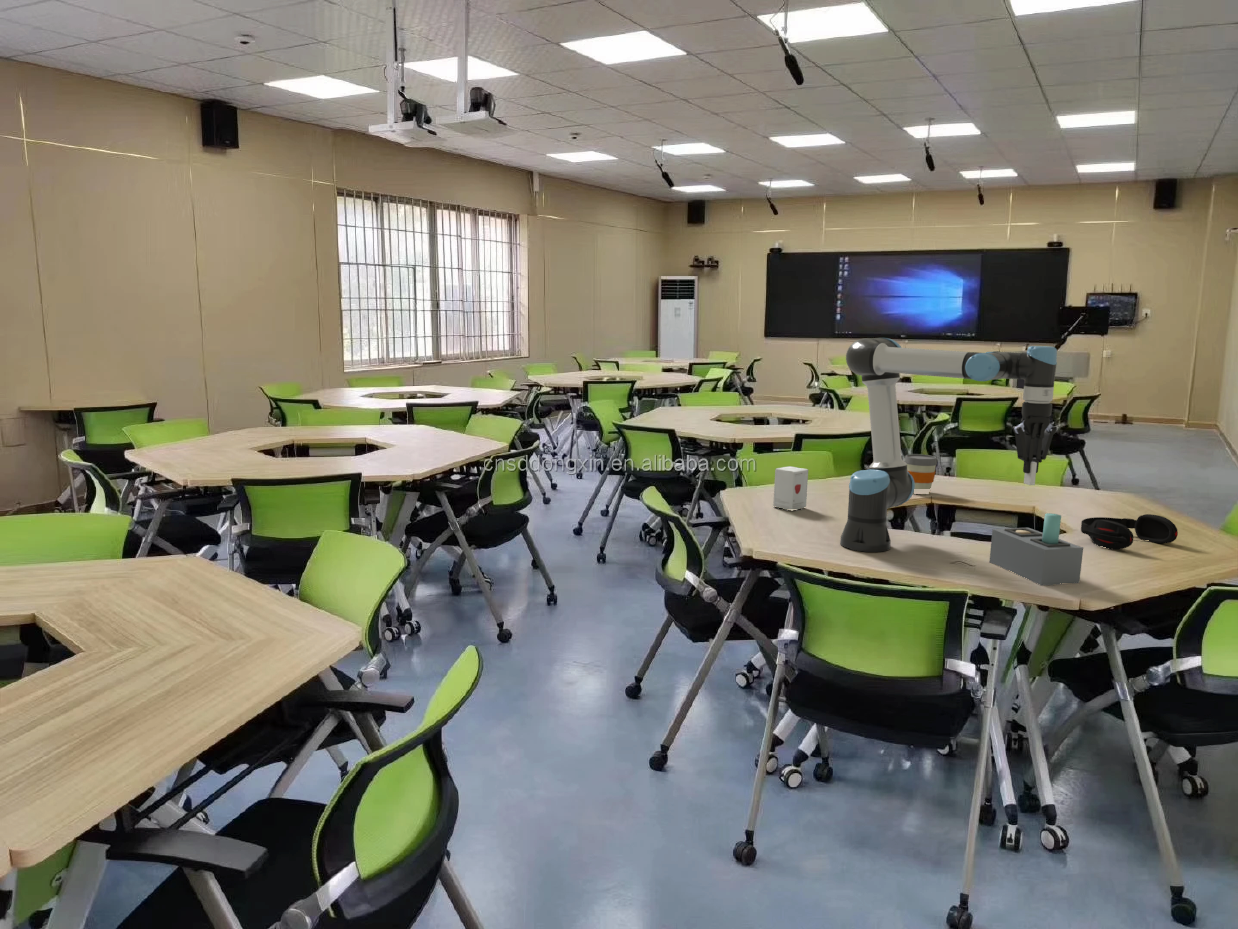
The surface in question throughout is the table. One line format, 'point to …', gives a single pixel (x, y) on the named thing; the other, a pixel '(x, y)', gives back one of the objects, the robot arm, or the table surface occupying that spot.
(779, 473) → the supplement box
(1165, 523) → the headset
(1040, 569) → the socket block
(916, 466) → the reusable coffee cup
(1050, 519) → the teal peg
